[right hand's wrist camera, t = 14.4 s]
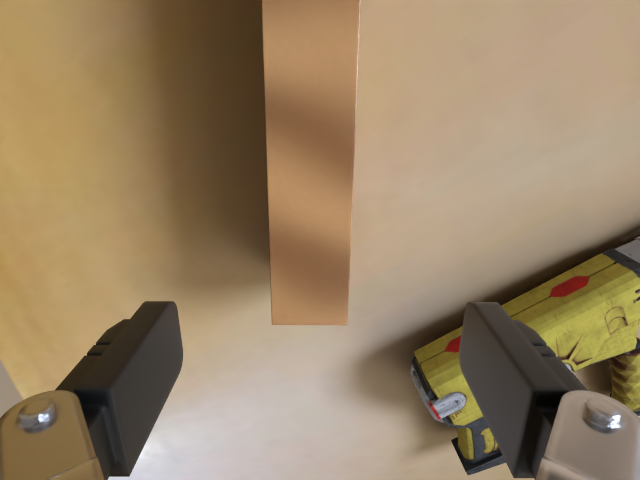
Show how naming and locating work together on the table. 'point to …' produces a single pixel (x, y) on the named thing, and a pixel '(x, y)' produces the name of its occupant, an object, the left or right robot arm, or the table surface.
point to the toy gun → (560, 335)
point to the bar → (310, 155)
